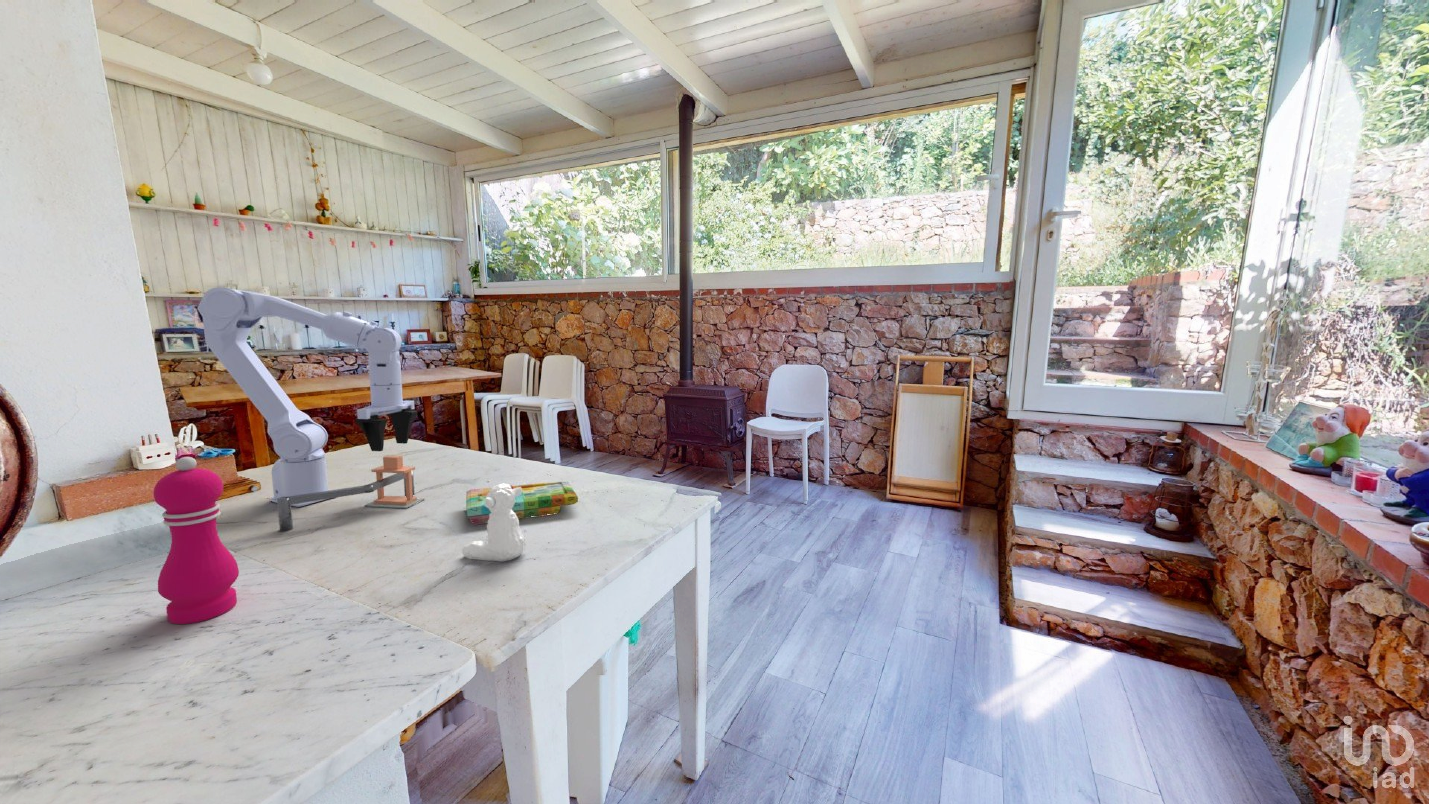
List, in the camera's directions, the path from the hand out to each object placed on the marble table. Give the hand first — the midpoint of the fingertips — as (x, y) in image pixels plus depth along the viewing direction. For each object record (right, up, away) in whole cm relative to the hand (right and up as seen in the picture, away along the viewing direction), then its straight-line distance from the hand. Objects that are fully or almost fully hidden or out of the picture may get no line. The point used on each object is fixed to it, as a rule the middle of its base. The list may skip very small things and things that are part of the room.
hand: (390, 446), depth 111 cm
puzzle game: (+31, -13, -7) cm, 35 cm away
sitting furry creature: (+36, -15, -28) cm, 48 cm away
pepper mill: (+5, -17, -46) cm, 49 cm away
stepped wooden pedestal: (+4, -11, -5) cm, 13 cm away
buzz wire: (+1, -12, -11) cm, 16 cm away
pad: (+4, -11, -5) cm, 13 cm away
